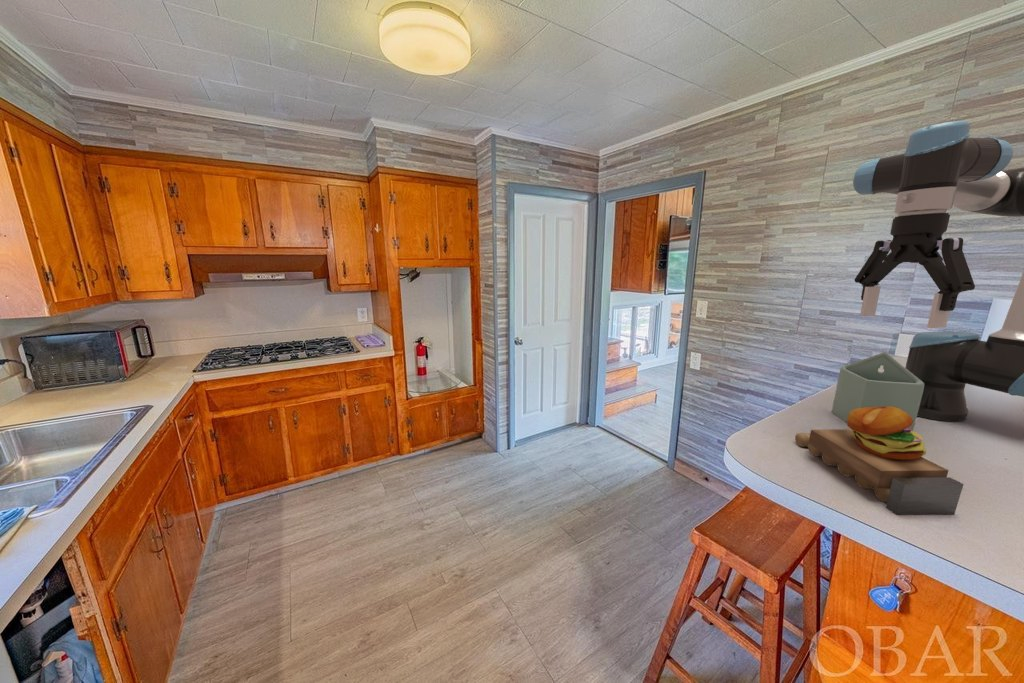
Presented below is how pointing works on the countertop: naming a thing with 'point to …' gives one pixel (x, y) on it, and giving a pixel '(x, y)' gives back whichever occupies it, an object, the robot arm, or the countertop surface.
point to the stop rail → (924, 496)
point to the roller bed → (841, 467)
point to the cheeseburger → (886, 432)
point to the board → (870, 459)
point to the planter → (877, 387)
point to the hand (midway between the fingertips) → (898, 321)
